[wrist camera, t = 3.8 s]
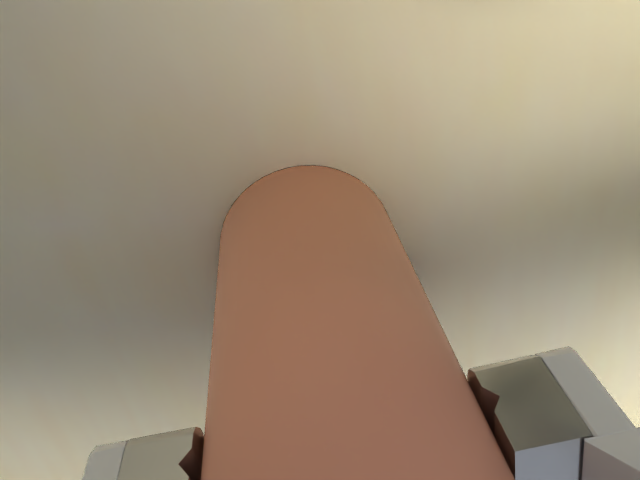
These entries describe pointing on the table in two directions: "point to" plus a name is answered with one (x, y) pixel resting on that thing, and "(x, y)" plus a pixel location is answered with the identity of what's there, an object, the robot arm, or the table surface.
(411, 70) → the table surface
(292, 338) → the long pin
